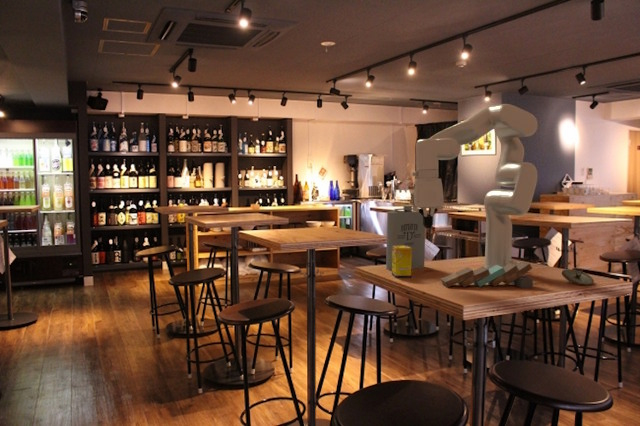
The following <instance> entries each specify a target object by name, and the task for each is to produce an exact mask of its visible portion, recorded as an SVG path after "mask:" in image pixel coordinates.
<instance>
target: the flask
mask: <svg viewBox="0 0 640 426" xmlns="http://www.w3.org/2000/svg"><path fill="white" fill-rule="evenodd" d="M412 208H413V205H407V204H405V205H402V207H401V208H394V211H387V212H386V215H387V216H386V255H385V256H386V259H385V262H386V263H385V264H386V265H385V268H386V270H387V269H388V271H392V246H409V247H410V248H412V261H411V270H412V269H413V270H414V268H415V269H422V268H425V261H426V259H425V258H426V257H425V252H426V251H425V250H426V228H425V227H424V225H423V216H422V215H421V214H420V213H419V212H416V211H413V210H412ZM421 267H422V268H421Z"/></svg>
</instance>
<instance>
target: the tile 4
mask: <svg viewBox="0 0 640 426" xmlns="http://www.w3.org/2000/svg"><path fill="white" fill-rule="evenodd" d="M503 268H504V270H505V272H506V273H504V274H502V275H501V276H499V277H497V278H495V279H493V280H492V281H490V282H488V283H487V284H488V285H490V286H492V287H493V288H494V287H497V286H499V285H500V284H501V283H503V281H504V280H506V279H507V278H509V277H510V276H512V275H513V274H515V273H516V272H518V271H519V269H518V267H517V266H516V265H514V264H511V263H509V264H507V265H506V266H504V267H503Z"/></svg>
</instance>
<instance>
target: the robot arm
mask: <svg viewBox="0 0 640 426" xmlns="http://www.w3.org/2000/svg"><path fill="white" fill-rule="evenodd" d="M538 123H539V122H538V120H537V118H536V116H535V115H533V114H532V113H531V112H529V111H527V110H525V109H522V108H521V107H518V106H516V105H513V104H509V103H501V104H493V105H492V104H491V105H487V106H485V107H483V108H481V109H480V110H478V111H477V112H475V113H474V114H473V115H471V116H469V117H468V118H466V119H465V120H462V121H461V122H459V123H456V124H454V125H452V126H449V127H447V128H445V129H442V130H441V131H439V132H437V133H435V134H434V135H432V136H430V138H429V137H428V138H422V139H418V140H417V141H416V144H415V153H416V154H415V155H416V156H415V157H416V158H415V160H416V161H415V162H416V165H415V169H416V170H415V171H413V172H412V177H415V179H414V180H413V186H412V187H413V188H412V198H411V199H412V206H413V207H412V211H416V212H419V213H420V214H421V215H422V216H423V225H424V227H425V229H432V227H433V224H434V223H433V218H434V216H435V214H436V213H437V212H440V211H443V210H444V205H445V204H444V203H445V202H444V200H445V199H444V196H445V195H444V188H443V183H442V178H439V160H440V161H449V160H454V159H456V158H457V157H458V156H459V155H460V154H461V148H462V147H461V146H465V145H468V144H471V143H474V142H477V141H478V140H479V139H481V138H482V137H484V136H485V135H487V134H488V133H489V132H491V131H492V130H494V133H495V135H496V136H497V138H498V140H499V143H500V146H501V151H500V156H499V158H498V164H497V167H496V171H495V175H494V180H495V183H496V184H497V185H498V186H499V187H503V188H504V187H506V188H514V189H506V188H504V189H503V188H496V189H491V190H489V191H488V192H487V193H486V194H485V196H484V200H483V206H484V211H485V219H486V220H485V222H486V223H485V227H486V228H485V245H484V246H485V248H484V249H485V251H484V265H481V266H480V267H485V268H487V269H490V268H492V267H494V266H495V265H499V266H501V267H504V266H506V265H507V264H509V263H511V264H514V265H517V264H519V263H520V262H522V261H523V260H522V261H519V260H518V261H517V260H514V259H512V243H513V241H512V238H513V223H512V220H511V217H510V216H516V217H517V216H519V217H520V216H525V215H526V214H527V213H528V212H529V211H530V208H531V205H532V202H533V198H534V195H535V191H536V186H537V183H538V176H539V175H538V170H537V168H536V166H535V165H534V164H533V163H531V162H528V161H527V162H526V161H524V157H525V147H524V145H523V143H522V141H521V139H520V138H525V137H527V138H528V137H531V136H533V135H534V134H535V133H536V132H537V130H538ZM427 210H428V211H427Z"/></svg>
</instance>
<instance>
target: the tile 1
mask: <svg viewBox="0 0 640 426" xmlns="http://www.w3.org/2000/svg"><path fill="white" fill-rule="evenodd" d="M473 271H474V270H473V269H471V268H470V267H465V268H463V269H460V270H458V271H456V272H453V273H451V274H449V275H446V276H445V277H442V278H440V282H441V284H442V285H443V286H445V287H446V288H450V287H452V286H455V285H456V284H458V283H459V282H461V281H464V280H466V279H468V278H470V277H473V276H475V275H474V272H473Z"/></svg>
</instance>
